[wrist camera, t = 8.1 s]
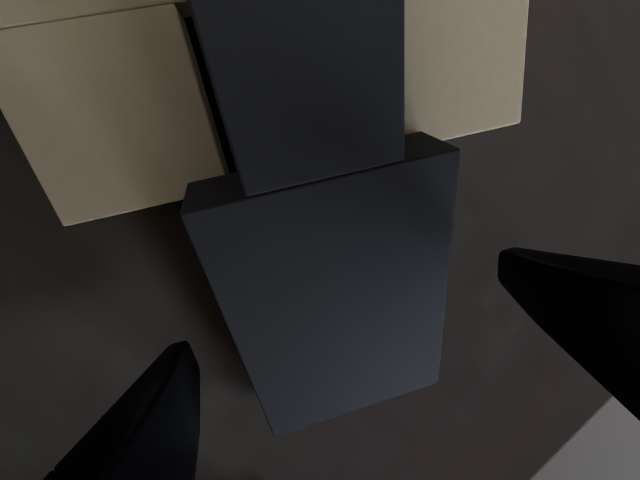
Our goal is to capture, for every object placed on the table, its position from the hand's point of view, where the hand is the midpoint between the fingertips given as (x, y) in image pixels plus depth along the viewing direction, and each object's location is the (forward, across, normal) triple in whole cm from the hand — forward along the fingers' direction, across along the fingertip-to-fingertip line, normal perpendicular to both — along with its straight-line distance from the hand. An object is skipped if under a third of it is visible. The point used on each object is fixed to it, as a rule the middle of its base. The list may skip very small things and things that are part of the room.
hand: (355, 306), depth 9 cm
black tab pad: (+3, 0, -1) cm, 3 cm away
